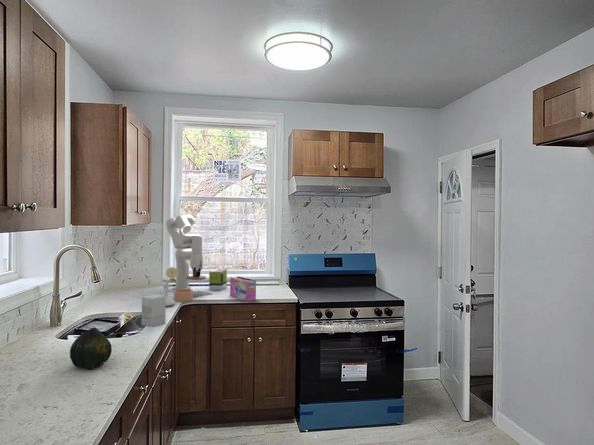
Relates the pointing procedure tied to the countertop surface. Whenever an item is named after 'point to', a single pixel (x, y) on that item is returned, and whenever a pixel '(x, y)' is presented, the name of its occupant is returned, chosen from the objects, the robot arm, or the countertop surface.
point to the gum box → (243, 288)
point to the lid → (196, 277)
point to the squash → (90, 349)
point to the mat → (200, 293)
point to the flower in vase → (171, 274)
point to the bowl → (183, 295)
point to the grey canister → (153, 310)
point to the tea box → (217, 279)
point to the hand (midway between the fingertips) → (196, 276)
